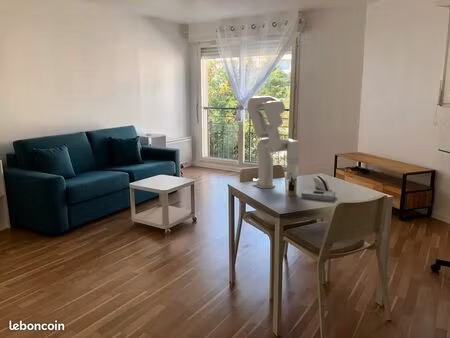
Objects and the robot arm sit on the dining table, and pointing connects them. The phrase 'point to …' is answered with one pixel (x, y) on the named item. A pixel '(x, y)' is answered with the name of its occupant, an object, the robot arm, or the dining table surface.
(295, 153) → the robot arm
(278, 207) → the dining table surface
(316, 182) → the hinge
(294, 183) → the peg
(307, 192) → the flat grey box
